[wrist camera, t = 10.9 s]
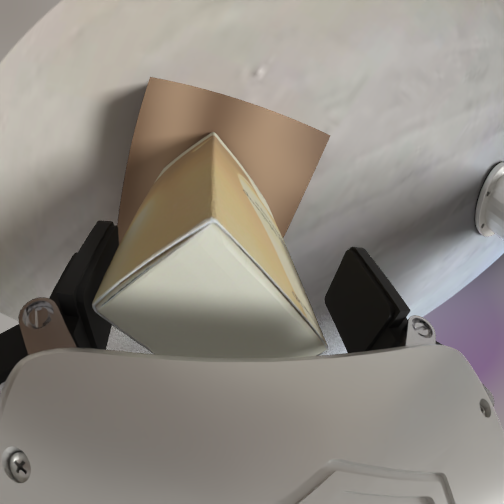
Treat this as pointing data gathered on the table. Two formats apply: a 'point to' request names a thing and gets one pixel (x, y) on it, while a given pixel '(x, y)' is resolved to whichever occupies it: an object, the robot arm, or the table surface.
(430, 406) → the robot arm
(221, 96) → the walnut block
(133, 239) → the skincare box
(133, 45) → the table surface
